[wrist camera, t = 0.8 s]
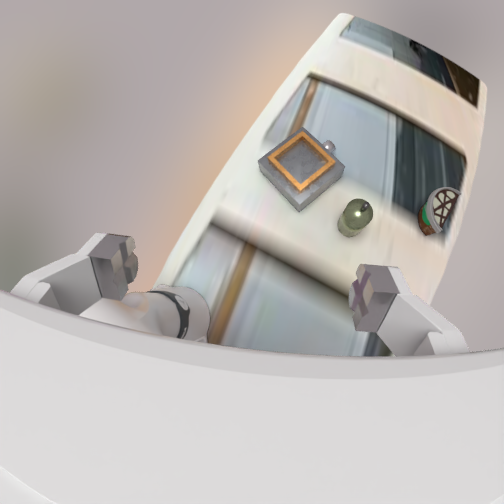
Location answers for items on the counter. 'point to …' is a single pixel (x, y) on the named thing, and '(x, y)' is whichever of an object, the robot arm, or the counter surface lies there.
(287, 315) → the counter surface
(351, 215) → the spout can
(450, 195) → the food container
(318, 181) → the grey drawer box
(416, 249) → the counter surface
